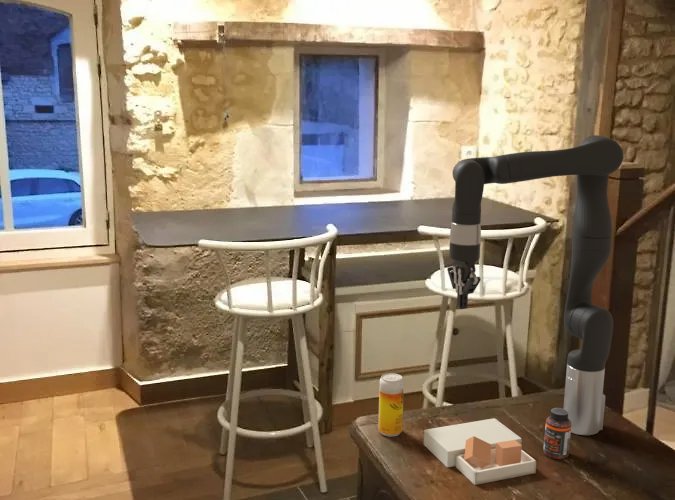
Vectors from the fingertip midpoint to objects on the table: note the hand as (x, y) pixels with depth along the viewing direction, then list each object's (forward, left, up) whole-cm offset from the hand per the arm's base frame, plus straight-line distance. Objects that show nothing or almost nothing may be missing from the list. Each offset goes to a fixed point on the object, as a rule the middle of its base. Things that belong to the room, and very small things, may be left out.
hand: (461, 307), depth 190 cm
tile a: (-1, +22, -29) cm, 36 cm away
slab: (+3, +13, -32) cm, 35 cm away
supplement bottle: (-15, +22, -32) cm, 42 cm away
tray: (+3, +24, -32) cm, 40 cm away
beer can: (+18, -2, -32) cm, 37 cm away
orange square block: (+7, +21, -29) cm, 36 cm away
